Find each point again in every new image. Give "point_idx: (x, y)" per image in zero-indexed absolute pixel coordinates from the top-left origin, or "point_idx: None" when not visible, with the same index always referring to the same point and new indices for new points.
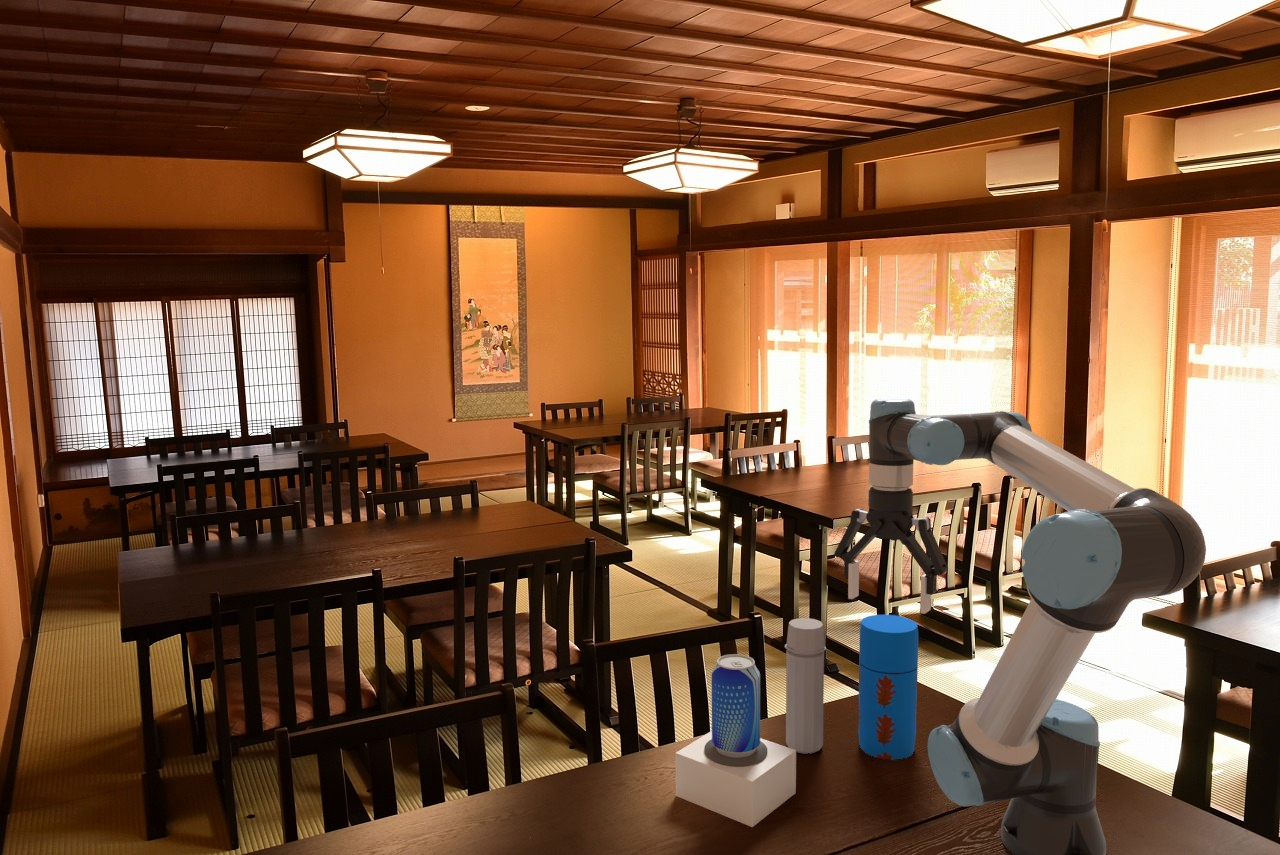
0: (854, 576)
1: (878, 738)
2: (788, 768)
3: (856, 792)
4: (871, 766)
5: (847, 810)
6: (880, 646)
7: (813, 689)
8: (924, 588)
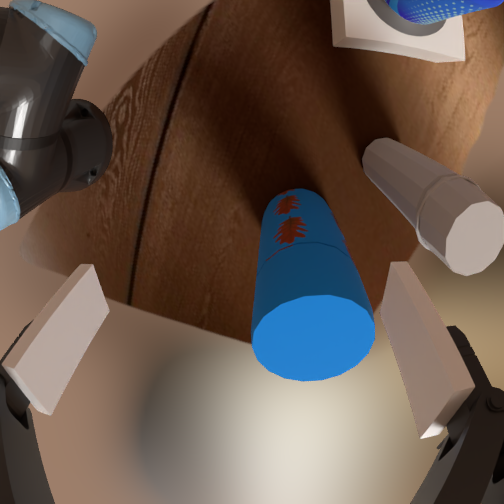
0: (418, 349)
1: (294, 196)
2: (340, 21)
3: (273, 92)
4: (290, 164)
5: (259, 48)
6: (306, 272)
7: (399, 169)
8: (30, 326)
